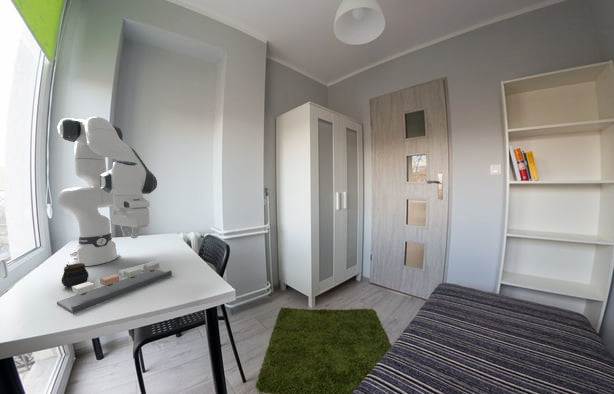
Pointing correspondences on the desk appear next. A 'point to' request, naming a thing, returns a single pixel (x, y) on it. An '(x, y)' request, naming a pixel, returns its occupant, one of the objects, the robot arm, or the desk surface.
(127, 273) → the key
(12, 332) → the desk surface
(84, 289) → the key
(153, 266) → the key
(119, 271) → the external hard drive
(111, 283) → the key
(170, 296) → the desk surface
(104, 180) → the robot arm
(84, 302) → the base
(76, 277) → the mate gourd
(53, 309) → the desk surface
